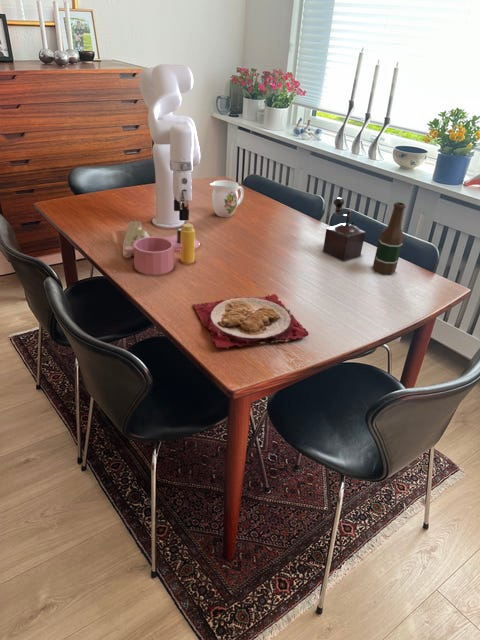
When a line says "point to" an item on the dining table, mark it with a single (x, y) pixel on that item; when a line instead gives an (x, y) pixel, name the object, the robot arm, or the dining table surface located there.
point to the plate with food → (249, 321)
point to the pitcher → (226, 197)
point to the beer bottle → (390, 243)
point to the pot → (153, 255)
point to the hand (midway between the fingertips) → (181, 215)
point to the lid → (177, 239)
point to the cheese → (133, 236)
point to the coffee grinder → (343, 237)
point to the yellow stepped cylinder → (187, 243)
